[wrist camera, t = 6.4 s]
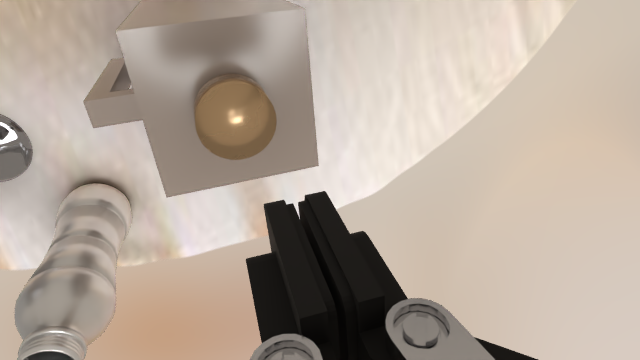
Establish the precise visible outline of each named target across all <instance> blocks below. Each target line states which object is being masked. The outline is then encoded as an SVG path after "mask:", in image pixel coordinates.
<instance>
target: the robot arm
mask: <svg viewBox="0 0 640 360" xmlns="http://www.w3.org/2000/svg"><path fill="white" fill-rule="evenodd" d="M298 206H299V215H300V219H299V216H298V214H297V212H296V209H295V207H294V205H293V203H292V204H288V205H286V203H285V201H284V200H281V201H276V202H271V203H266V204H264V210H265V216H266V222H267V228H268V233H269V239H270V245H271V251H272V253H269V254H264V255H260V256H256V257H251V258H248V259H246V263H247V268H248V273H249V279H250V284H251V289H252V294H253V299H254V305H255V310H256V315H257V320H258V326H259V331H260V336H261V341H262V344H261V345H260V346H259V347H258V348H257V349H256V350H255V351H254V353H253V355H252V357H251V358H250V360H538V359H534V358H532V357H529V356H526V355H523V354H520V353H518V352H515V351H512V350H509V349H506V348H504V347H501V346H498V345H495V344H492V343H489V342H487V341H484V340H481V339H478V338H475V337H473V336H472V335H471V334H470V333H469V332H468V331H467V330H466V329H465V328H464V326H463V325H461V323H460V322H459V321H458V320H457V319H456V318H455V317H454V316H453V315H452V314H451V313H450V312H449V311H448V310H447V309H445V308H444V307H443V306H442V305H440V304H438V303H436V302H433V301H431V300H427V299H422V298H411V299H408V298H407V297H406V295H405V294H404V292H403V290H402V289H401V287H400V286H399V284H398V282H397V281H396V279H395V278H394V276H393V275H392V273H391V271H390V270H389V268H388V267H387V265H386V264H385V262H384V260H383V259H382V257H381V256H380V254H379V252H378V251H377V249H376V248H375V246H374V245H373V243H372V241H371V240H370V238H369V237H368V235H367V234H366V233H365V232H364V231H361V232H356V233H352V234H350V233H349V232H348V230H347V228H346V226H345V225H344V223H343V221H342V219H341V218H340V216H339V214H338V212H337V211H336V209H335V207H334V205H333V204H332V202H331V200H330V198H329V197H328V195H327V193H326V192H325V191H323V192H318V193H313V194H309V195H305V201H301V202H299V203H298Z"/></svg>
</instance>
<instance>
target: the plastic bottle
mask: <svg viewBox="0 0 640 360" xmlns="http://www.w3.org/2000/svg"><path fill="white" fill-rule="evenodd" d="M131 223H132V213H131V207H130V203H129V201H128V199H127V198H126V197H125V195H124V194H123V193H122V192H120V191H119V190H117V189H116V188H114V187H111V186H109V185H105V184H97V183H94V184H87V185H83V186H80V187H78V188H76V189H75V190H73V191H72V192H71V193H70V194H69V195H68V196H67V197H66V198H65V199H64V200H63V202H62V203H61V205H60V206H59V209H58V213H57V218H56V229H55V233H54V236H53V240H52V244H51V246H50V248H49V250H48V252H47V254H46V256H45V257H44V259H43V261H42V263H41V264H40V266H39V267H38V268H37V270H36V271H35V272H34V274H33V275H32V277H31V278H30V280H29V281H28V282H27V284H26V285H25V286H24V288H23V290H22V291H21V293H20V295H19V297H18V299H17V300H16V304H15V325H16V327H17V330H18V332H19V334H20V336H21V337H22V339H23V342H22V343H21V346H20V348H19V352H18V358H17V360H84V358H85V356H86V352H87V346H88V345H90V344H91V343H92V342H94V341H95V340H96V339H97V338H98V337H100V336H101V335H102V334H103V333H104V332H105V330H106V328H107V327H108V325H109V323H110V322H111V320H112V319H113V316H114V313H115V306H116V280H115V279H116V278H115V275H116V266H117V258H118V254H119V251H120V248H121V246H122V243H123V241H124V239H125V238H126V236H127V234H128V232H129V229H130V227H131Z"/></svg>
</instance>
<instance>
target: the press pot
mask: <svg viewBox="0 0 640 360" xmlns="http://www.w3.org/2000/svg"><path fill="white" fill-rule="evenodd" d="M115 32H116V35H117V38H118V41H119V45H120V48H121V51H122V54H123V58H117V59H111V60H110V62H109V63H108V65H107V66H106V68H105V69H104V71H103V72H102V74H101V75H100V77H99V78H98V80H97V82H96V83H95V85H94V86H93V88H92V89H91V91H90V92H89V94H88V95H87V97H86V98H85V100H84V101H83V102H84V105H85V107H86V110H87V113H88V115H89V118H90V121H91V123H92V126H93V128H98V127H104V126H110V125H116V124H121V123H127V122H133V121H139V120H143V122H144V126H145V129H146V132H147V135H148V139H149V142H150V145H151V148H152V152H153V155H154V158H155V161H156V165H157V168H158V171H159V174H160V178H161V181H162V184H163V187H164V190H165V194H166V197H171V196H176V195H181V194H186V193H191V192H195V191H200V190H205V189H210V188H214V187H219V186H224V185H229V184H234V183H238V182H243V181H248V180H253V179H258V178H262V177H267V176H272V175H277V174H282V173H286V172H291V171H296V170H301V169H306V168H310V167H315V166H319V165H318V153H317V142H316V130H315V118H314V107H313V95H312V84H311V72H310V60H309V49H308V37H307V26H306V14H305V8H303V7H300V6H298V5H296V4H293V3H291V2H288V1H286V0H141V2H140V3H139V4H138V5H137V6H136V7H135V9H134V10H133V11H132V12H131V13H130V14H129V16H128V17H127V18H126V19H125V20H124V22H123V23H122V24H121V25H120V26H119V27H118V29H117V30H116V31H115ZM229 73H235V74H241V75H244V76H247V77H249V78H251V79H253V80H254V81H255V82H257V83H258V84H259V85H260V86H261V87H262V89H263V90H264V92H265V93H266V95H267V96H268V98H269V99H270V101H271V103H272V104H273V106H274V109H275V112H276V118H277V124H276V130H275V133H274V136H273V138H272V140H271V141H270V143H269V144H268V145H267V147H266V148H265V149H263V150H262V151H261V152H260V153H258V154H256V155H254V156H252V157H250V158H246V159H241V160H230V159H225V158H221V157H219V156H217V155H215V154H213V153H211V152H210V151H209V150H208V149H207V148H206V147H205V146H204V145H203V144H202V142H201V141H200V139H199V137H198V135H197V132H196V127H195V118H194V102H195V99H196V96H197V94H198V92H199V90H200V89H201V88H202V86H203V85H204V84H205V83H206V82H208V81H209V80H210V79H212V78H214V77H216V76H219V75H222V74H229ZM130 84H132V87H133V89H129V87H130Z"/></svg>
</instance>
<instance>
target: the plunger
mask: <svg viewBox="0 0 640 360" xmlns="http://www.w3.org/2000/svg"><path fill="white" fill-rule="evenodd" d="M194 118H195V127H196V132H197V135H198V137H199V139H200V141H201V142H202V144H203V145H204V146H205V147H206V148H207V149H208V150H209V151H210V152H211V153H213V154H215V155H217V156H219V157H221V158H225V159H230V160H241V159H246V158H250V157H252V156H254V155H256V154H258V153H260V152H261V151H262V150H263V149H265V148H266V147H267V145H268V144H269V143H270V141H271V140H272V138H273V136H274V133H275V130H276V124H277V118H276V112H275V109H274V106H273V104H272V103H271V101H270V99H269V98H268V96H267V95H266V93H265V92H264V90H263V89H262V87H261V86H260V85H259V84H258V83H257V82H255V81H254V80H253V79H251V78H249V77H247V76H244V75H241V74H235V73H229V74H222V75H219V76H216V77H214V78H212V79H210V80H209V81H208V82H206V83H205V84H204V85H203V86H202V88H201V89H200V90H199V92H198V94H197V96H196V99H195V102H194Z"/></svg>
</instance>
